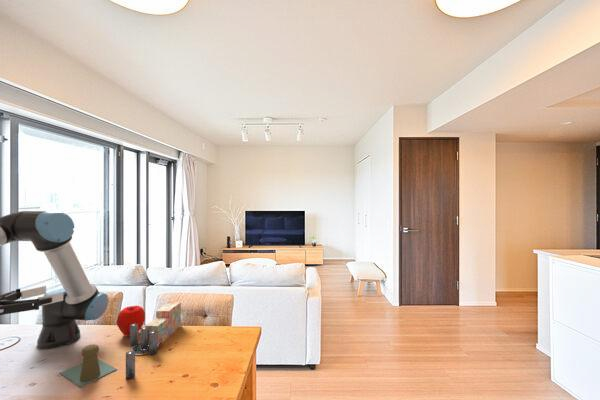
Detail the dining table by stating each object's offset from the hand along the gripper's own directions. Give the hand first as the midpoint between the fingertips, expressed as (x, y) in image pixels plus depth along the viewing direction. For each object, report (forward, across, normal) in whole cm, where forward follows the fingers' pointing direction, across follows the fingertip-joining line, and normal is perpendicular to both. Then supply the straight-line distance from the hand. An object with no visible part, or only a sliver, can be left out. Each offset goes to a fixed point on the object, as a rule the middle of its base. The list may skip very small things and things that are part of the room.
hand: (54, 292), depth 102 cm
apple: (+35, -14, -32) cm, 49 cm away
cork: (+8, +7, -32) cm, 34 cm away
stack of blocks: (+42, 0, -32) cm, 53 cm away
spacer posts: (+23, +8, -32) cm, 40 cm away
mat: (+10, +2, -32) cm, 33 cm away
